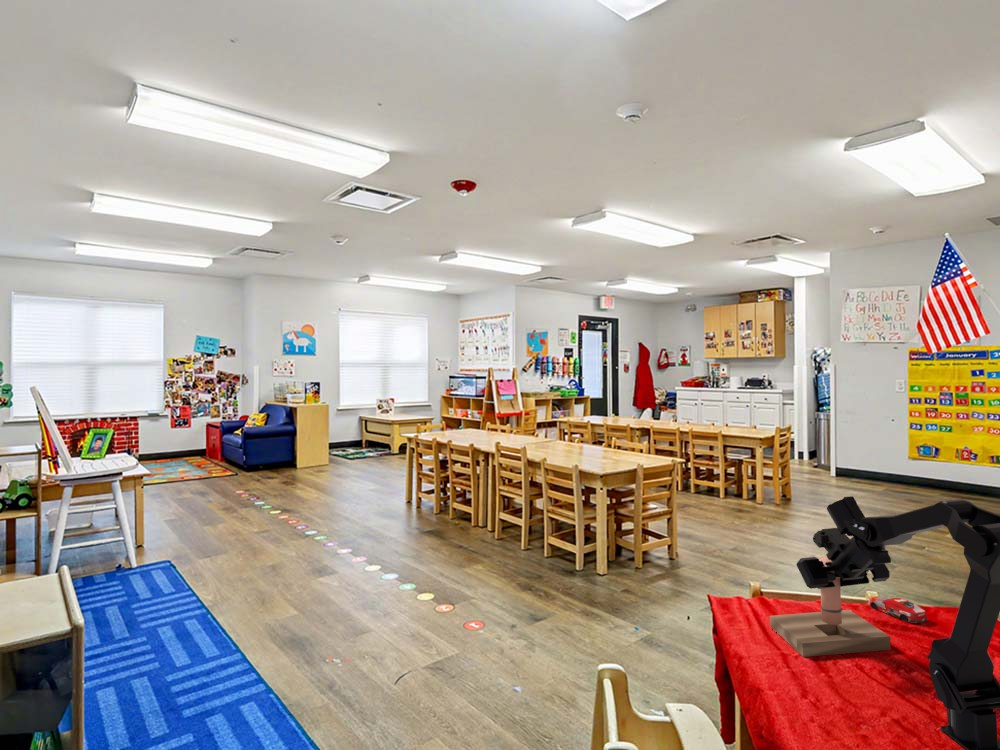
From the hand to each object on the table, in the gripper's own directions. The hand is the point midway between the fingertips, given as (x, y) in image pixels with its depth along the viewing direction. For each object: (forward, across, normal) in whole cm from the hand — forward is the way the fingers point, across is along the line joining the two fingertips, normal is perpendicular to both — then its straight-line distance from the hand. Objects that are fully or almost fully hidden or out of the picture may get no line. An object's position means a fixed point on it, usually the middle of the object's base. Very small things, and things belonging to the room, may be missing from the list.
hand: (826, 585), depth 135 cm
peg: (+4, 0, +6) cm, 8 cm away
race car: (+15, -25, +3) cm, 29 cm away
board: (+9, 0, +8) cm, 13 cm away
